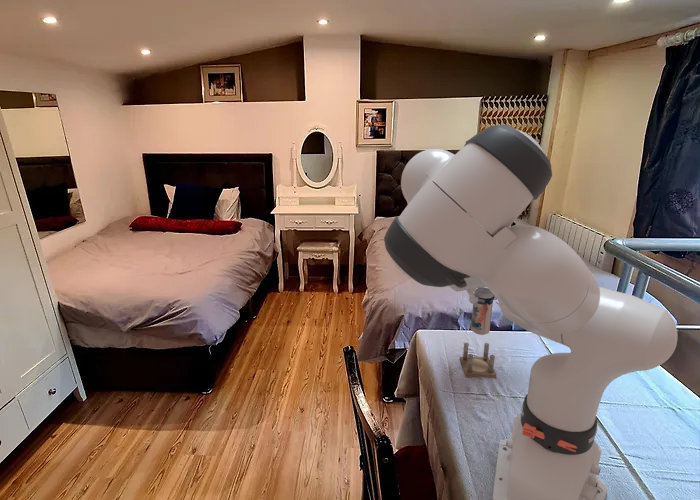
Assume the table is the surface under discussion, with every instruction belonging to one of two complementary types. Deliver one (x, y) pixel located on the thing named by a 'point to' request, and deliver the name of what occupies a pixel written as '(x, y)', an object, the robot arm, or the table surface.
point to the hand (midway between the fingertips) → (483, 300)
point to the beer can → (482, 311)
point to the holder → (478, 364)
